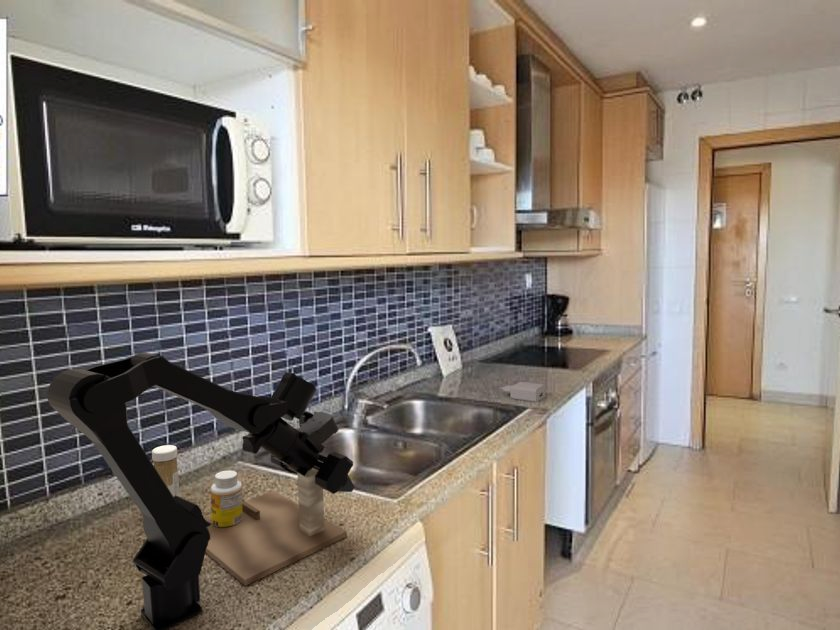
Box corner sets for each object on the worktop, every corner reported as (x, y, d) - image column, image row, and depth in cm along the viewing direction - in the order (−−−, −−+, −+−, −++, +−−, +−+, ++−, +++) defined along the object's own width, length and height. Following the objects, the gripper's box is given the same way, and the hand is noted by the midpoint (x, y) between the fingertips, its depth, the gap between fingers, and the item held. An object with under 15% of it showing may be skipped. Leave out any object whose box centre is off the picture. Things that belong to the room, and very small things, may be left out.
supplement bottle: (212, 521, 105) (211, 470, 104) (242, 517, 107) (241, 467, 106) (211, 535, 100) (209, 481, 99) (242, 530, 102) (241, 478, 100)
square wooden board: (245, 585, 84) (241, 512, 83) (179, 530, 102) (175, 469, 100) (346, 536, 99) (344, 473, 97) (273, 495, 116) (271, 441, 115)
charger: (506, 391, 199) (545, 396, 191) (495, 397, 192) (535, 403, 184) (506, 378, 199) (545, 383, 191) (495, 384, 191) (536, 389, 183)
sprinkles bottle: (152, 518, 107) (147, 452, 105) (163, 507, 111) (158, 444, 110) (175, 517, 107) (170, 452, 105) (185, 507, 111) (180, 443, 110)
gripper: (342, 412, 90) (392, 457, 100) (281, 393, 103) (330, 434, 113) (304, 472, 86) (360, 513, 95) (245, 444, 99) (300, 482, 108)
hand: (337, 482), depth 103 cm, fingers open, 9 cm apart
